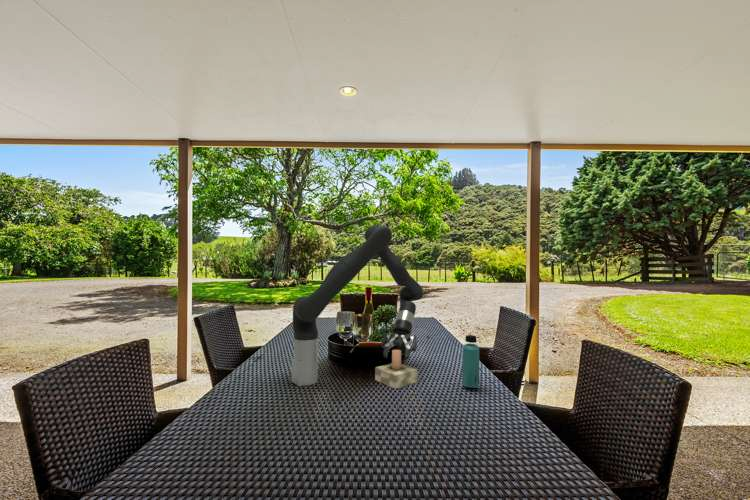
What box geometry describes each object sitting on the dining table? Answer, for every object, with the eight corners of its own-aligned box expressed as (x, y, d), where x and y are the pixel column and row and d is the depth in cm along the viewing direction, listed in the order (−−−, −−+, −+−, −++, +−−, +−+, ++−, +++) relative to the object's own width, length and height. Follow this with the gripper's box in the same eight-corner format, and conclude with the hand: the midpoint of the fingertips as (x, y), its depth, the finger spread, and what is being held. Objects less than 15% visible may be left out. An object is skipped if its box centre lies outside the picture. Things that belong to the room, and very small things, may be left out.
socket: (395, 388, 139) (395, 375, 139) (375, 379, 148) (375, 367, 148) (417, 381, 146) (417, 368, 146) (397, 373, 156) (397, 361, 156)
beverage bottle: (475, 393, 136) (476, 338, 136) (458, 388, 140) (459, 336, 140) (482, 388, 141) (482, 335, 141) (465, 383, 145) (466, 333, 145)
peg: (396, 383, 145) (396, 352, 145) (389, 380, 148) (390, 350, 148) (402, 381, 147) (403, 350, 147) (396, 378, 150) (396, 349, 150)
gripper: (386, 317, 157) (376, 351, 146) (419, 319, 152) (411, 355, 141) (389, 327, 162) (380, 360, 151) (421, 330, 157) (414, 365, 146)
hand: (395, 358), depth 146 cm, fingers open, 8 cm apart
